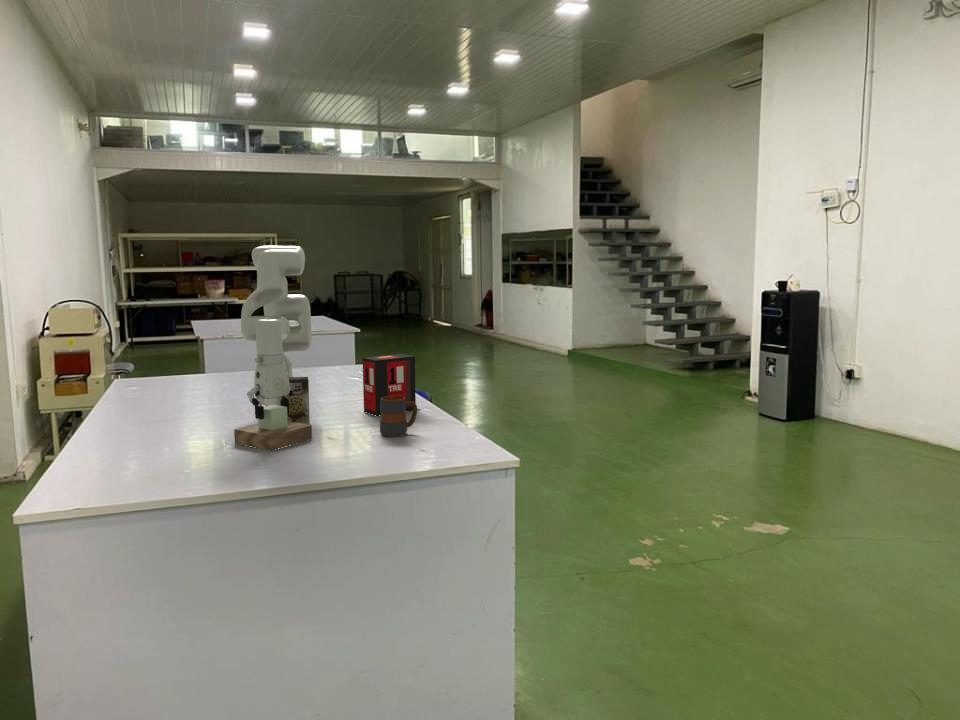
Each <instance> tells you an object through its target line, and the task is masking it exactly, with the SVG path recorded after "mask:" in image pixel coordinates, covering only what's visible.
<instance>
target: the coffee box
mask: <svg viewBox="0 0 960 720" xmlns="http://www.w3.org/2000/svg"><path fill="white" fill-rule="evenodd" d="M289 382H290V383H292V384H294V385H295V387H294V390H293V394H292V396H291V399H290V400H289V413H287V420H288V421H291V422H296V423H302V424H308V425H311V423H310V422H311V421H310V418H311V417H310V393H309V392H310V390H309V389H310V386H309V377H308V376H293V377H289ZM281 400H282V398H281Z"/></svg>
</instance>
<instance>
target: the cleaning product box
mask: <svg viewBox="0 0 960 720" xmlns="http://www.w3.org/2000/svg"><path fill="white" fill-rule="evenodd" d="M362 384H363V385H362V387H363V390H362V391H363V393H362V394H363V413H364V412H367V413H370V414H373V415H376V416H378V417H380V416H379V415H381V412H380V399H381V398H382V397H385V396H403V397H405V400H406V402H414V403H417V400H416V397H417V395H416V356H415V355H410V354H404V353H396V354H386V355H385V354H384V355H378V356H377V355H376V356H368V357H367V356H366V357H362ZM411 410H413V406H406V411H408V412H412V411H411ZM367 413H366V414H367ZM370 414H369V415H370ZM373 415H372V416H373ZM376 416H375V417H376Z"/></svg>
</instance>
